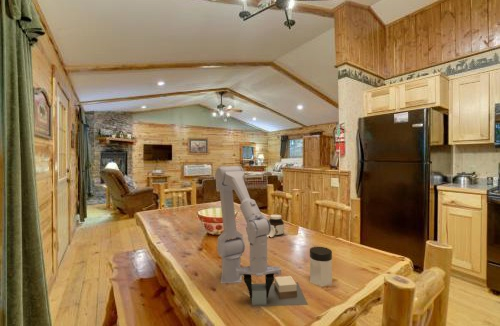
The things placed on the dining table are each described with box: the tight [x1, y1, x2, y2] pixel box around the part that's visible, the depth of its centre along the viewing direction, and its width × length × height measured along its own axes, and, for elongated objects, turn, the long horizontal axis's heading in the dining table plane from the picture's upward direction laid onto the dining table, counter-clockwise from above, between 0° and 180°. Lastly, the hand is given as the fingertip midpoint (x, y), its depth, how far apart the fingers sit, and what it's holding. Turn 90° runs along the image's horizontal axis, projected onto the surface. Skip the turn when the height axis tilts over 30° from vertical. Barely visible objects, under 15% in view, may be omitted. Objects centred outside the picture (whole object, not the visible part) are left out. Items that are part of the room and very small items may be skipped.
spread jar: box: [267, 214, 285, 238], centre depth 150 cm, size 12×11×12 cm
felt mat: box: [250, 281, 309, 308], centre depth 85 cm, size 14×18×1 cm
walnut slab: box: [274, 284, 297, 299], centre depth 86 cm, size 6×6×2 cm
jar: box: [309, 246, 333, 288], centre depth 94 cm, size 9×8×12 cm
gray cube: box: [251, 283, 266, 306], centre depth 81 cm, size 4×4×4 cm
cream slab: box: [274, 275, 297, 292], centre depth 86 cm, size 6×6×2 cm
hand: (258, 296), depth 81 cm, fingers closed on gray cube, 4 cm apart
